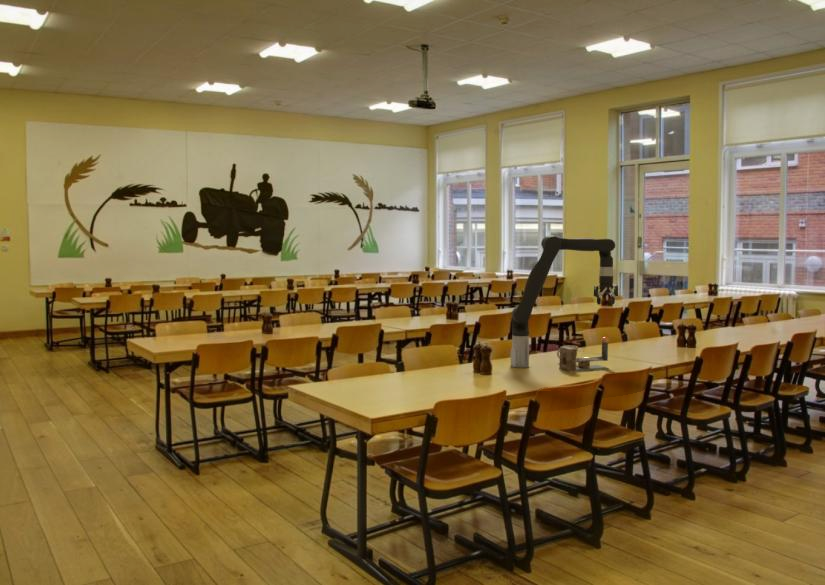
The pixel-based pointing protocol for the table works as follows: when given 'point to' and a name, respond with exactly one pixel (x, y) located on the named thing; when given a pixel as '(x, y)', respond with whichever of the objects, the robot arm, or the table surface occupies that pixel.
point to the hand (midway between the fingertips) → (605, 304)
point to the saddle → (584, 364)
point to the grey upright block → (567, 358)
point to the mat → (592, 367)
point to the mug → (568, 346)
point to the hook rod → (604, 353)
